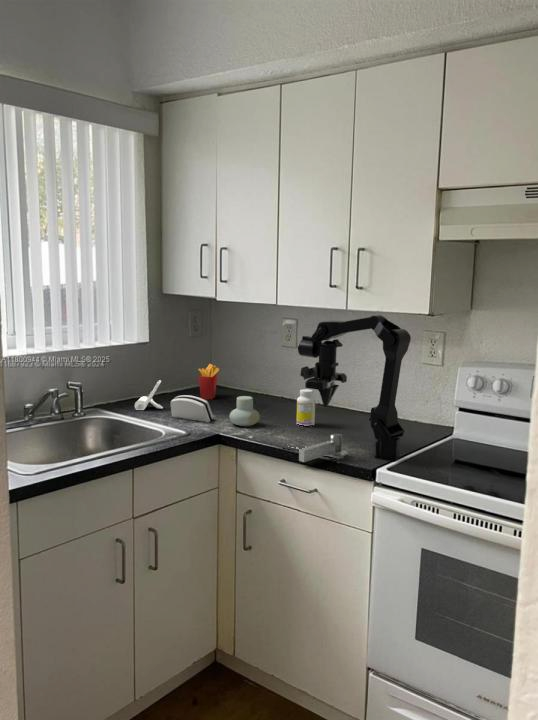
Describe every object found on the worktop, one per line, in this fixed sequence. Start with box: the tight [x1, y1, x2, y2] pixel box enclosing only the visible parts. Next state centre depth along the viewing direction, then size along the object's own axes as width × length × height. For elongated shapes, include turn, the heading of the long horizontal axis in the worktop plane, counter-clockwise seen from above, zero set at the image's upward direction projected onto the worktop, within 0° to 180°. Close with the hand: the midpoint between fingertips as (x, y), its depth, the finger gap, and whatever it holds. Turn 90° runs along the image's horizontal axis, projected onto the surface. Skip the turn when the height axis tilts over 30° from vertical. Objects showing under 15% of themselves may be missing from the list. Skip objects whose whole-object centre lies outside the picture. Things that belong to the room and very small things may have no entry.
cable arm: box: [298, 433, 343, 463], centre depth 200 cm, size 18×4×5 cm, turn 136°
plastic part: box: [134, 379, 164, 411], centre depth 261 cm, size 8×10×12 cm
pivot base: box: [326, 450, 350, 459], centre depth 205 cm, size 6×6×1 cm
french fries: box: [197, 363, 220, 401], centre depth 283 cm, size 9×8×15 cm
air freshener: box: [229, 395, 260, 427], centre depth 240 cm, size 11×8×10 cm
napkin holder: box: [170, 394, 216, 423], centre depth 247 cm, size 17×5×10 cm, turn 62°
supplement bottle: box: [296, 388, 316, 426], centre depth 241 cm, size 7×7×13 cm
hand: (325, 406), depth 219 cm, fingers closed
